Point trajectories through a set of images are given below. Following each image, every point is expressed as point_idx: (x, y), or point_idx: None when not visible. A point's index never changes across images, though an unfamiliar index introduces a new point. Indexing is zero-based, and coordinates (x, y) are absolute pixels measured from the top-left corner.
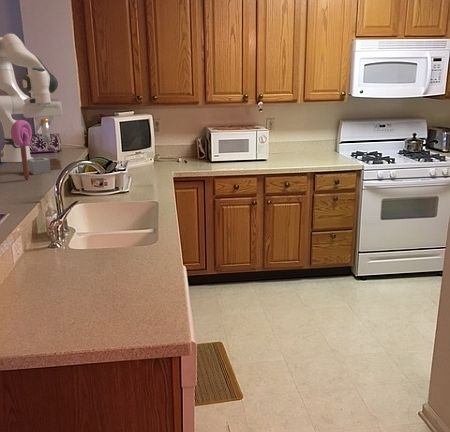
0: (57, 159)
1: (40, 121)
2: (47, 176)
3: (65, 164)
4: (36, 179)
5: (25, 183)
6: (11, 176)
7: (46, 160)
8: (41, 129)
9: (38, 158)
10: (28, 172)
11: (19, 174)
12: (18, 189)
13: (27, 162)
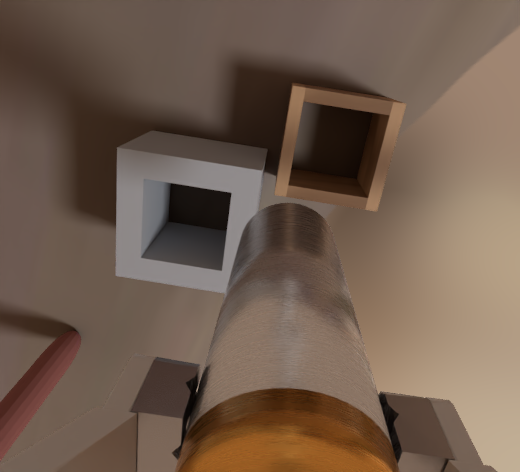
0: (377, 164)
1: (177, 462)
2: (191, 330)
3: (502, 28)
4: (119, 354)
5: (52, 391)
6: (20, 190)
7: (219, 291)
8: (214, 331)
9: (201, 177)
10: (66, 369)
11: (75, 165)
12: (5, 458)
13: (36, 411)
